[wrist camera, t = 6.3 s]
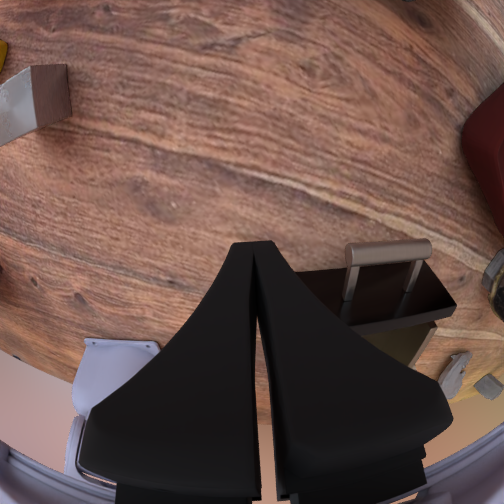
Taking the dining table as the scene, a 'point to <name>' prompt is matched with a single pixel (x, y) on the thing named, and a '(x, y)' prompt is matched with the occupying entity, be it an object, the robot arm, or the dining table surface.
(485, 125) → the ashtray
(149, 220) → the dining table surface
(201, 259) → the dining table surface
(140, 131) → the dining table surface
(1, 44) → the yellow walkie talkie
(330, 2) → the dining table surface
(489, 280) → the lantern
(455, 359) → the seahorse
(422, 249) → the drawer
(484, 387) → the mineral specimen
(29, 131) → the steel block
